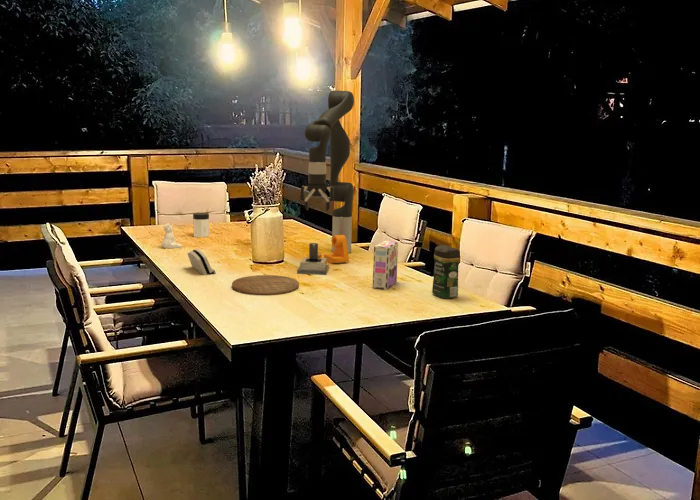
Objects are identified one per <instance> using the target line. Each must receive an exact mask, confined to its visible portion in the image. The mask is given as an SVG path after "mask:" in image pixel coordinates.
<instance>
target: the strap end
mask: <svg viewBox="0 0 700 500" xmlns="http://www.w3.org/2000/svg"><path fill="white" fill-rule="evenodd" d="M327 263H328V262H327V258H324V257H322V252H319V251H318V262H309V257H302V259H301V261H300V263H299V264H300V265H299V266H300V270H325V268H326V265H328V264H327Z"/></svg>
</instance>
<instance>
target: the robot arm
mask: <svg viewBox="0 0 700 500" xmlns="http://www.w3.org/2000/svg"><path fill="white" fill-rule="evenodd" d="M354 104H355V97H354V94H353V93H352V92H351V91H350V90H331V91H329V93H328V99H327V106H328V107H327V108H328V109H327V110H325V111H323V112H322V113H321V114H320V116H319V117H318V119H315V120H313V121H311V122H310V123H309V124H308V125H307V126H306V127H305V129H304V138H305V139H306V140H307V141H308V142H315V143H316V142H319V144H318V146H316V147H311V148H309V150H308V171H307V172H308V181H307V182H308V185H302V186H301V187H300V198H299V200H301V201H303V202H304V209H305V210H306V211H309V199H310V198H311V197H323V198H324V200H325V201H326V202H325V211H326V212H328V211H329V210H330V207H331V206H330V205H331V202H339V203H344V205H342V206H340V207H338V208H335V209H333V210H332V220H331V221H332V225H331V226H332V228H331V230H332V231H331V235H332V236H333V235H345V237H346V241H347V248H348V254H350V253H351V252H352V236H353V235H352V230H353V229H352V226H353V224H352V222H353V202H354V185H353V183H352V182H346V181H345V182H343V181H342V182H341V181H339V176H340V172H341V171H342V168H343V167H344V165H345V164H346V163H347V161H348V159H349V157H350V154H351V146H350V145H351V141H350V138H349V135H348V134H347V132H346V130H345V129H344V128H343V126H342V123H341V121H340V119H341V118H343V117H344V116H345V115H347V114H348V113H349V112H351V110H352V109H353V107H354ZM328 144H329V157H330V160H329V161H330V173H329V174H330V178H329V180H330V181H329V186H327V160H326V159H327V156H326V155H327V148H328ZM327 190H328V192H329V196H328V194H327V193H326V192H327ZM306 191H308V194H307V195H306V196H305V192H306ZM332 236H331V237H332ZM332 252H334V247H333V246H332V245H331V253H332Z"/></svg>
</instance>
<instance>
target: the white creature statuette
mask: <svg viewBox="0 0 700 500" xmlns="http://www.w3.org/2000/svg"><path fill="white" fill-rule="evenodd" d="M163 231H164V232H165V234H164V235H163V236H164V237H163V238H162V241H161V247H162V248H164V249H166V248H167V249H171V250H173V248H180V249H182V244H181V243H179V242H177V241H176V240H175V235H174V232H173V231H174V229H173V226H172V225H171V223H169V222H167V223H165V224H163Z"/></svg>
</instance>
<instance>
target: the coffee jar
mask: <svg viewBox="0 0 700 500" xmlns="http://www.w3.org/2000/svg"><path fill="white" fill-rule="evenodd" d="M433 260H434V268H433V278H432V289H431V291H432V294H433V295H435V296H437V297H439V298H441V299H448V300H449V299H454V298H457V297H458V296H459V264H460V261H461V250H459V249H458V248H455V247H452V246H450V245H447V244H442V245H441V244H440V245H436V247H435V248H434V253H433Z"/></svg>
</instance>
